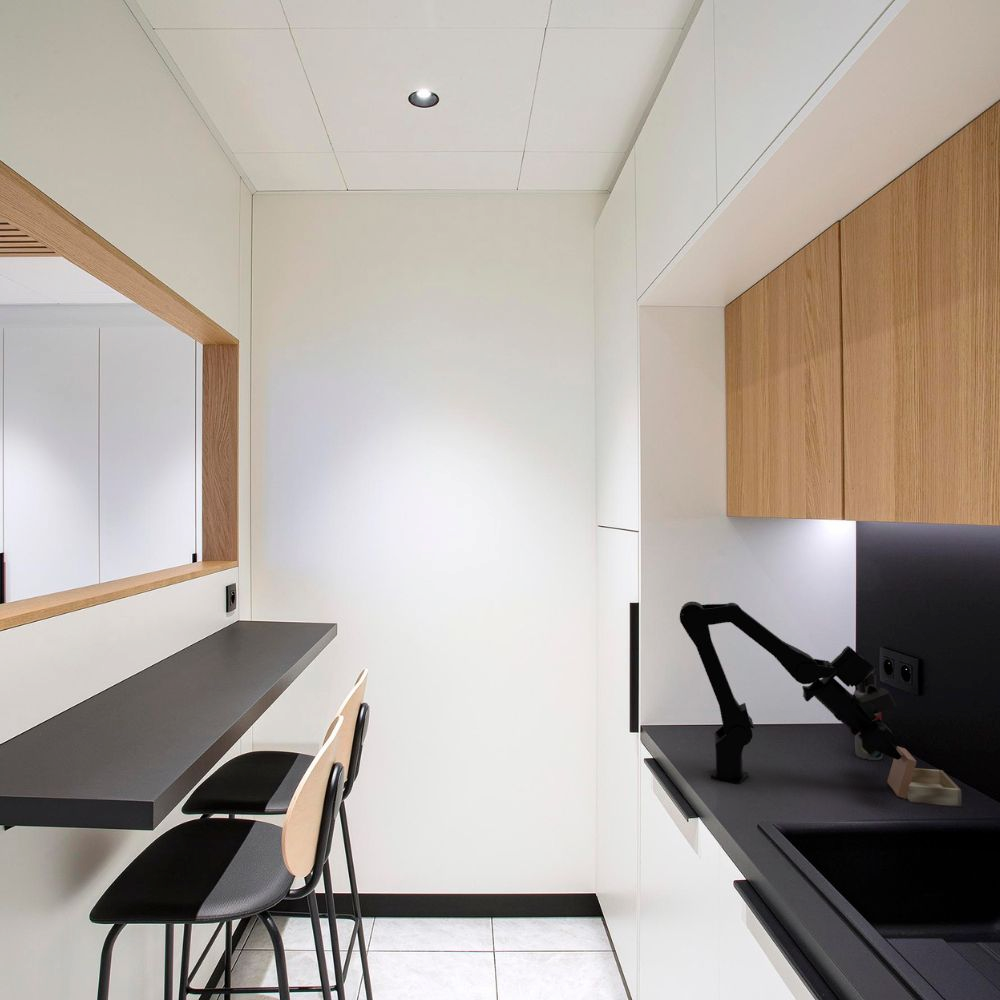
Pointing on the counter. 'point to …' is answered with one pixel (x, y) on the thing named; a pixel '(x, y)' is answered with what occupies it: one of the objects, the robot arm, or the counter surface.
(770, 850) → the counter surface
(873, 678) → the lotion bottle
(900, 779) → the drawer panel
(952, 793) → the tray
